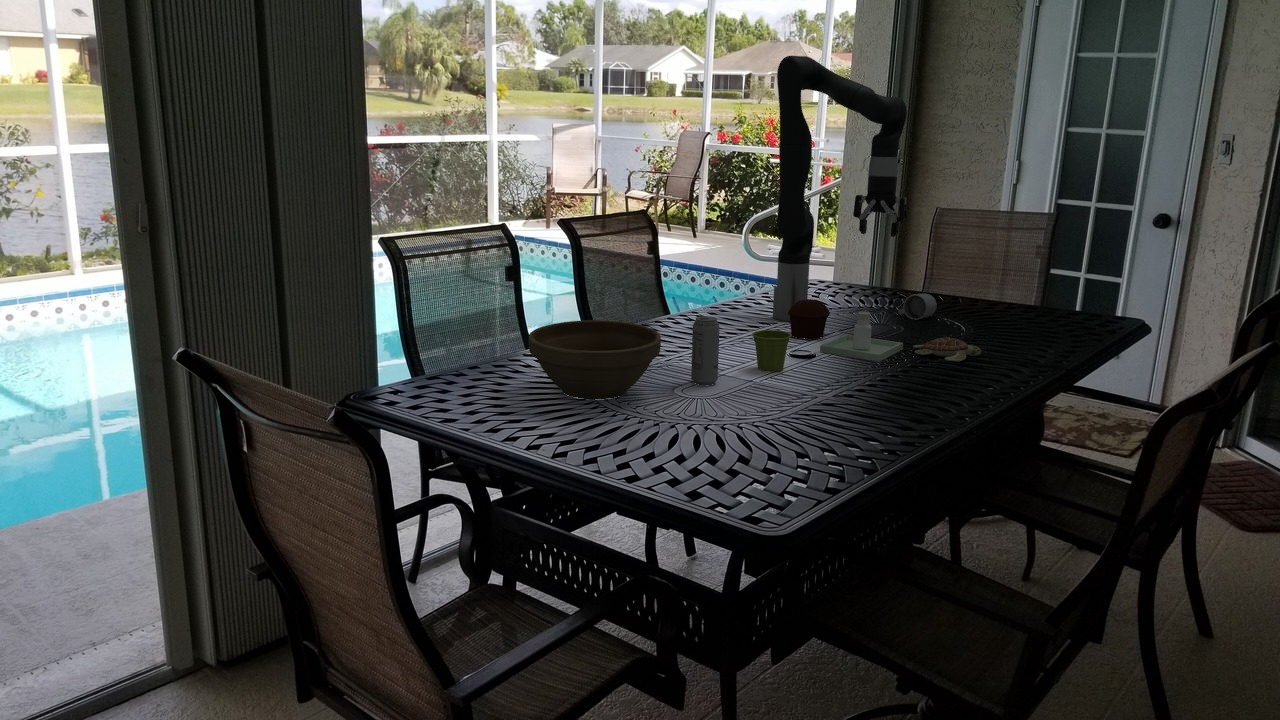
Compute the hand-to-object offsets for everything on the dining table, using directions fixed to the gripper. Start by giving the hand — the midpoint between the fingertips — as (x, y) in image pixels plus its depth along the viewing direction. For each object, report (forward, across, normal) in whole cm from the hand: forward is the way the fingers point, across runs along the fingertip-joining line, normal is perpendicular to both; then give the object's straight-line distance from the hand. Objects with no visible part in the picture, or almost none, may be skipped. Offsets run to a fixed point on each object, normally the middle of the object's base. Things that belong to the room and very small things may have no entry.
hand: (878, 235), depth 254 cm
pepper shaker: (+28, +5, -18) cm, 33 cm away
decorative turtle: (+29, +24, -8) cm, 38 cm away
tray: (+28, +5, -18) cm, 34 cm away
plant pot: (+28, -5, -49) cm, 57 cm away
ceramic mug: (+28, +1, +33) cm, 43 cm away
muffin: (+28, -14, -11) cm, 33 cm away
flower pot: (+28, -26, -90) cm, 98 cm away
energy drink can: (+28, -11, -69) cm, 75 cm away
